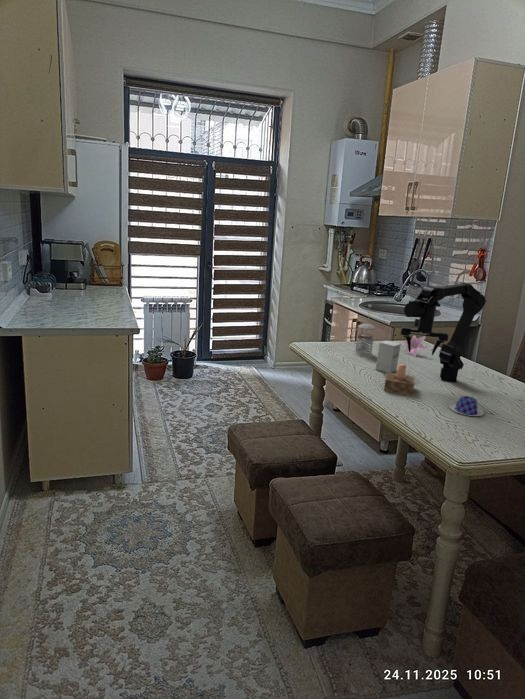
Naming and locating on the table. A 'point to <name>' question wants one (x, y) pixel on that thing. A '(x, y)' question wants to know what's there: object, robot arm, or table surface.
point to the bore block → (399, 384)
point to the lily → (415, 345)
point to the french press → (369, 340)
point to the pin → (400, 371)
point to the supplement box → (388, 356)
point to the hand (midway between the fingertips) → (420, 353)
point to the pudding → (467, 406)
